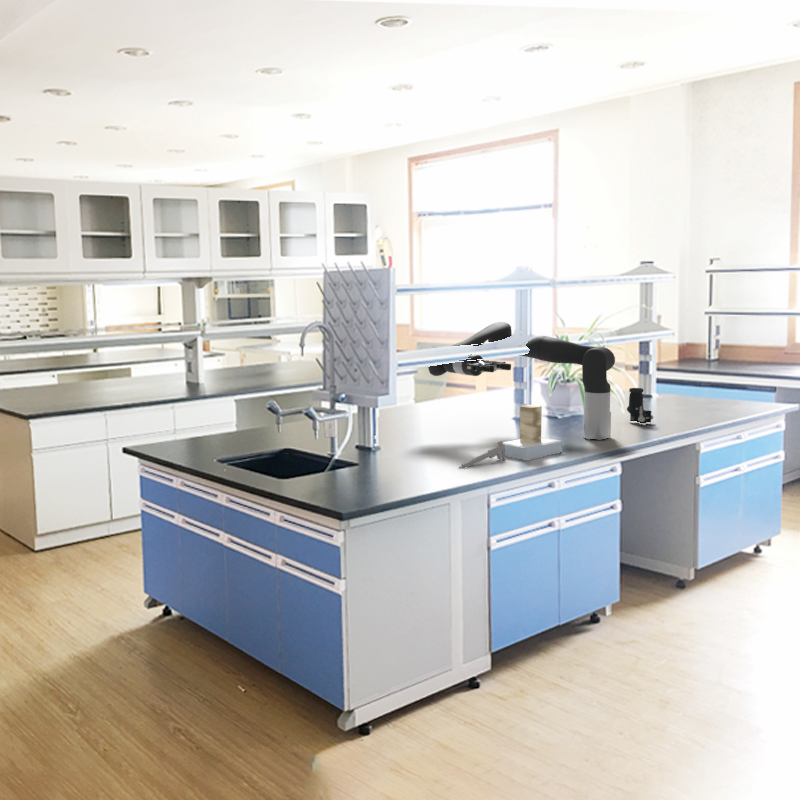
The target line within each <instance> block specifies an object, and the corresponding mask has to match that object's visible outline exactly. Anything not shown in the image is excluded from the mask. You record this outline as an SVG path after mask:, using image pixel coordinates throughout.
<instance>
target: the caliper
mask: <svg viewBox="0 0 800 800" xmlns="http://www.w3.org/2000/svg"><path fill="white" fill-rule="evenodd" d="M503 442H504V441H502V440H501V441H499V442H497V445H496V446H494V447H492V448H490V449H487V451H486V452H484V453H483V454H480V455H479V456H476V457H474V458H471V459H470V460H467V461H465V462H463V463H461V464H460V466H458V469H460V468H462V469H466V468H465V467H467V468H469V467H471V466H473V465H475V464H478V463H480V462H482V461H484V460H486V459H488V458H489V459H493V458H494V457H497V460H498V459H499V460H500V461H502V460H505V459H506V456H505V445H504V444H503ZM500 452H501V453H500ZM499 460H498V461H499Z"/></svg>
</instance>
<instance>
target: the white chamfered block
mask: <svg viewBox="0 0 800 800" xmlns="http://www.w3.org/2000/svg"><path fill="white" fill-rule="evenodd" d="M502 442H503V444H504V445H505V457H506V458H507V457H508V458H511V457H512V458H511V459H516V458H517V459H518V460H521V459H522V461H532V460H536V459H541V458H544V457H548V456H547V455H549V456H552V455H551V454H553V455H556V453H557V454H561V453H560V452H562V447H563V445H562V444H563V443H562V442H563V440H559V439H553V438H547V437H542V436H541V442H537V443H532V444H530V443H525V442H520V438H518V439H514V440H507V441H502ZM500 453H501V452H500ZM543 456H544V457H543ZM531 459H532V460H531Z"/></svg>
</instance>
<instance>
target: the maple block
mask: <svg viewBox="0 0 800 800" xmlns="http://www.w3.org/2000/svg"><path fill="white" fill-rule="evenodd" d="M542 407H543V406H542V405H535V404H526V405H520V406H519V411H520V412H519V417H520V418H519V439H520V442H525V443H530V444H532V443H537V442H541V437H542V414H543V413H542V409H543V408H542Z"/></svg>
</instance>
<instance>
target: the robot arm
mask: <svg viewBox="0 0 800 800" xmlns="http://www.w3.org/2000/svg"><path fill="white" fill-rule="evenodd" d="M512 333H513V332H512V326H511V324H509V323H508V322H505V321H504V322H503V321H497V322H494V323H491V324H489V325H488V326H486V327H484V328H483V329H481V330H479V331H478V332H476V333H475V334H474V335H472V336H469V338H466V339H465V340H464V339H463V341H460V342H457V343H455V344H453V345H451V346H460V345H471V344H478V345H473V346H479V345H482V346H483V344H485V343H486V342H487V343H488V342H494V341H498V340H502V339H505V338H507V337H510V336H512V337H513V335H512ZM481 343H483V344H481ZM526 346H527V347H528V348H529V349H530V351H529V353H528V354H525V355H519V356H520V357H526V358H531V359H534V360H539V361H543V362H547V363H555V364H570V365H571V364H574V365H580V366H582V369H581V370H582V374H581V375H582V377H581V379H582V385H583V387H584V390H583V391H584V393H583V394H584V396H583V401H584V402H583V405H584V406H583V439H585V438H586V440H590V439H606V438H609V439H610V437H611V428H612V425H611V424H612V412H611V384H610V383H609V381H608V379H607V377H608V376H607V374H608V373H607V371H610V370H611V369H612V368H613V367H614V365H615V364H616V363H615V362H616V357H615V354H614V353H613V352H612V350H611V349H609V348H607V347H605V346H595V345H594V346H592V345H583V344H579V343H576V342H572V341H568V340H564V339H560V338H556V337H551V336H545V335H539V336H536V337H534V338H532V339H530V341H529V340H528V343H527V344H526ZM437 347H438V346H433V347H432V348H437ZM468 356H469V357H468V358H471V359H466V360H459V361H464V362H455V363H449V364H442V365H437V366H430V367H428V366H427V369H428V372H429V373H430V375H432V376H433V377H439V376H442V375H444V374H446V373H452V374H460V375H463V376H472V377H479V376H480V375H482V374H483V373H495V372H497V371H499V370H501V371H502V370H503V371H511V370H512V364H511V363H507V362H506V361H498V360H489V359H483V356H481V355H480V354H474V355H472V354H470V355H468ZM477 359H483V360H477ZM467 360H476V361H467ZM609 436H610V437H609ZM606 440H607V439H606Z"/></svg>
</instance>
